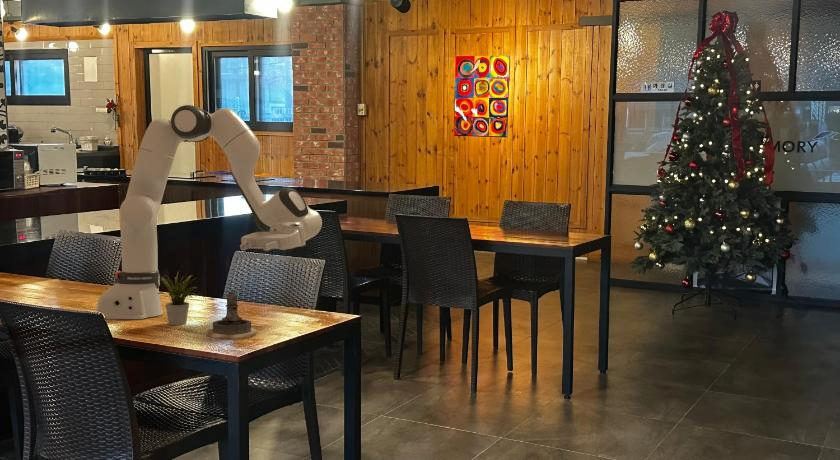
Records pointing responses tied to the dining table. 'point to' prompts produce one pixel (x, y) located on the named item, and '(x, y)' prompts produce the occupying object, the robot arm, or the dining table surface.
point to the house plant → (177, 300)
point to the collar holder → (231, 330)
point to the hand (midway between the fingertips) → (253, 247)
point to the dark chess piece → (232, 310)
